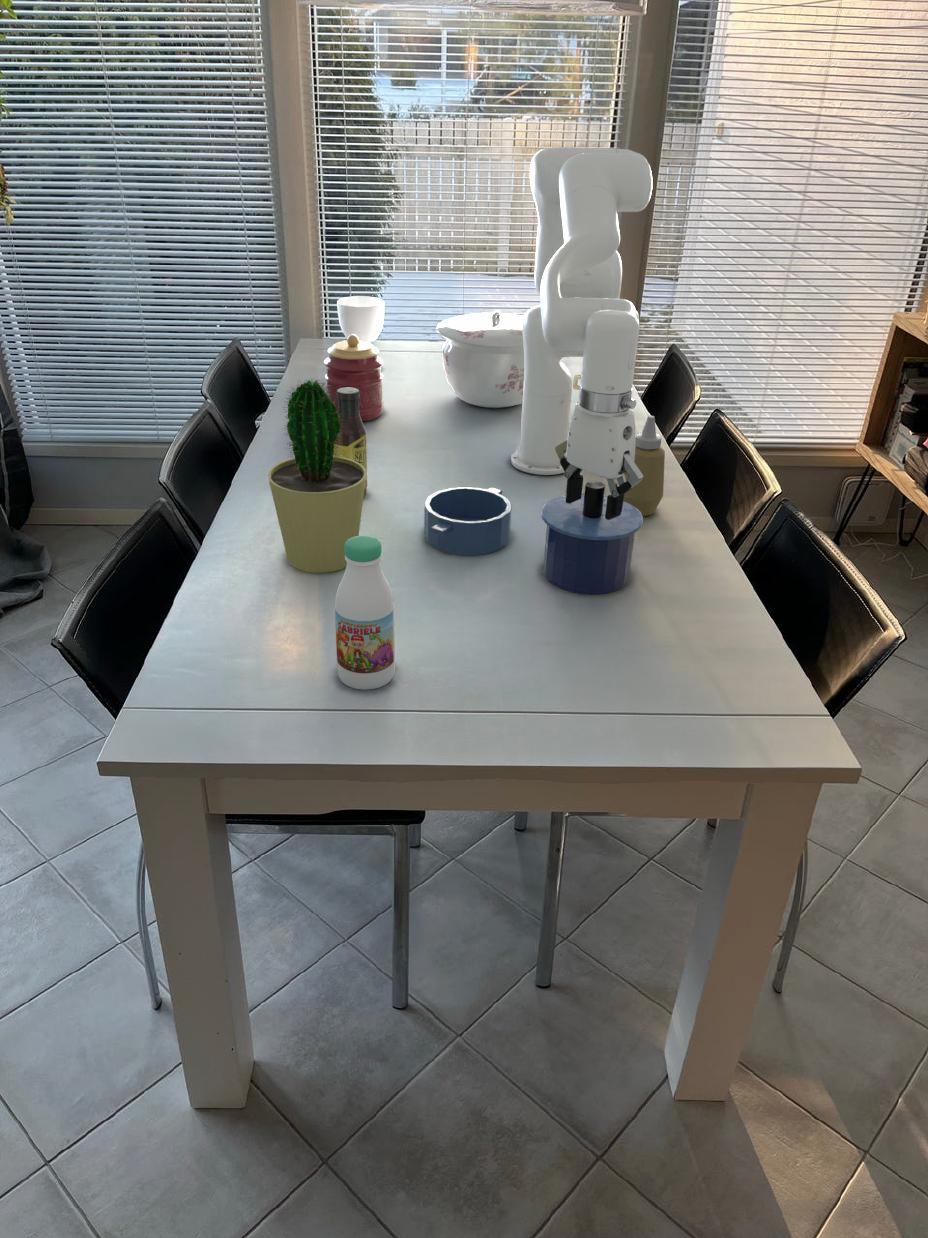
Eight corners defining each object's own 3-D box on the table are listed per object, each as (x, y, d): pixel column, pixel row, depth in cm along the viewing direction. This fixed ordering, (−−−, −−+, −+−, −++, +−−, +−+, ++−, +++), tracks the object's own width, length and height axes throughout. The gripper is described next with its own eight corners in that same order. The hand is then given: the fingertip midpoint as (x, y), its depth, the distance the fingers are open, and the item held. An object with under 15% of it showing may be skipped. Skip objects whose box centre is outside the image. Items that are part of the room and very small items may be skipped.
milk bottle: (338, 659, 133) (332, 528, 123) (394, 658, 134) (393, 528, 123) (336, 692, 127) (330, 557, 116) (395, 690, 127) (394, 556, 117)
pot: (565, 546, 165) (570, 492, 160) (641, 567, 159) (649, 512, 154) (528, 579, 155) (532, 522, 149) (608, 603, 149) (615, 545, 144)
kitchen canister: (394, 416, 218) (393, 338, 209) (343, 426, 212) (340, 345, 202) (366, 400, 227) (364, 324, 218) (316, 409, 221) (312, 331, 211)
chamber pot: (462, 424, 215) (465, 330, 204) (417, 387, 236) (418, 300, 225) (572, 411, 225) (580, 320, 214) (520, 376, 246) (525, 293, 235)
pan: (399, 547, 163) (399, 514, 160) (460, 506, 178) (461, 475, 175) (474, 569, 157) (476, 536, 154) (530, 525, 172) (533, 494, 168)
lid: (523, 527, 149) (526, 490, 146) (567, 492, 161) (570, 457, 158) (618, 553, 143) (623, 515, 139) (656, 515, 154) (662, 479, 151)
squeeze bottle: (663, 505, 181) (677, 412, 171) (656, 522, 174) (670, 427, 165) (621, 498, 183) (632, 406, 173) (612, 515, 176) (624, 420, 167)
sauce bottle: (362, 503, 178) (359, 397, 167) (329, 499, 179) (324, 394, 168) (372, 489, 183) (369, 386, 173) (340, 485, 184) (336, 383, 174)
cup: (339, 362, 252) (337, 295, 243) (384, 362, 253) (383, 295, 244) (339, 376, 242) (336, 306, 233) (386, 376, 243) (385, 307, 234)
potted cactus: (372, 576, 154) (368, 392, 138) (274, 581, 151) (259, 395, 136) (365, 533, 167) (360, 361, 151) (274, 538, 164) (260, 363, 149)
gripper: (668, 408, 139) (652, 520, 148) (575, 379, 149) (565, 485, 158) (637, 420, 134) (622, 534, 143) (543, 389, 145) (535, 498, 154)
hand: (592, 508), depth 151 cm, fingers open, 7 cm apart
